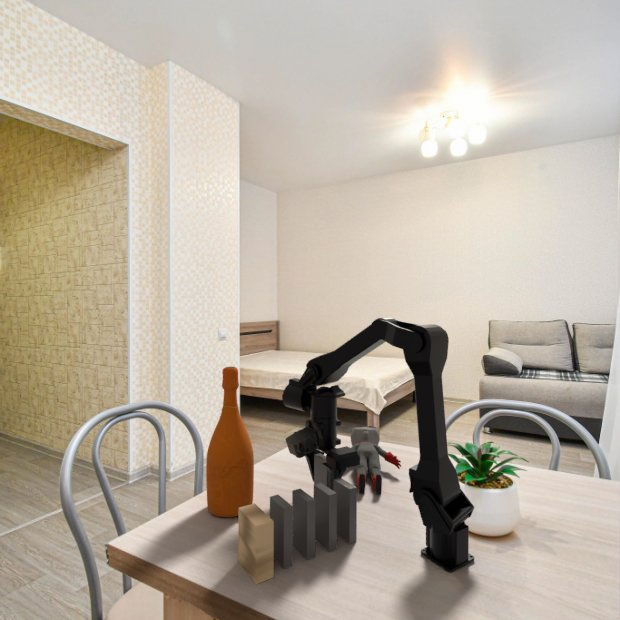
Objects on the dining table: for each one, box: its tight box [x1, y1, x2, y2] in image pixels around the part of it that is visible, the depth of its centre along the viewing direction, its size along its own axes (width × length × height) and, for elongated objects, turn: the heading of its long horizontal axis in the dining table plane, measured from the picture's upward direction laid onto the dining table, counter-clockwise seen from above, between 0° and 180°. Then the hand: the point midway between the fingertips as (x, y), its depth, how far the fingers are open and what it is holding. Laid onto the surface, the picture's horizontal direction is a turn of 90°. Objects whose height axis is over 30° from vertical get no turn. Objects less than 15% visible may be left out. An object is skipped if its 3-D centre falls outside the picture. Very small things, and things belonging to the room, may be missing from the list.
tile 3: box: [313, 483, 338, 553], centre depth 77 cm, size 5×2×10 cm, turn 32°
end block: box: [237, 502, 275, 585], centre depth 69 cm, size 7×3×9 cm, turn 32°
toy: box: [350, 425, 402, 495], centre depth 112 cm, size 16×10×30 cm
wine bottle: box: [205, 366, 255, 518], centre depth 90 cm, size 10×10×30 cm
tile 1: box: [313, 453, 329, 488], centre depth 92 cm, size 5×2×10 cm, turn 32°
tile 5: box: [269, 494, 293, 570], centre depth 72 cm, size 5×2×10 cm, turn 32°
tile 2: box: [334, 477, 358, 545], centre depth 79 cm, size 5×2×10 cm, turn 32°
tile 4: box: [291, 488, 316, 561], centre depth 74 cm, size 5×2×10 cm, turn 32°
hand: (323, 486), depth 92 cm, fingers open, 6 cm apart
